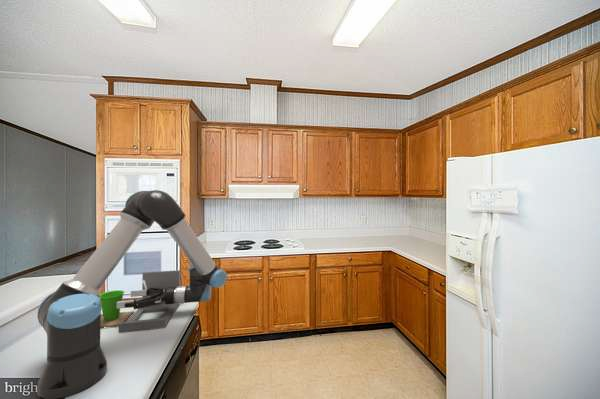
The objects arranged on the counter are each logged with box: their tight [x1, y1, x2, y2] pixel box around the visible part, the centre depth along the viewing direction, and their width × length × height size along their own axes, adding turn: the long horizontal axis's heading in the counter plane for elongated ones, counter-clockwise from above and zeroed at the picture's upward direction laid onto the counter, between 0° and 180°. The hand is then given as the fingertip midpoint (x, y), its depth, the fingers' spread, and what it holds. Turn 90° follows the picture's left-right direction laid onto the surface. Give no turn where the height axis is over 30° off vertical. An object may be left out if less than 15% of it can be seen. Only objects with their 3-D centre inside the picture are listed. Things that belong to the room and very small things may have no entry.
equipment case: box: [118, 269, 181, 333], centre depth 114 cm, size 17×25×18 cm
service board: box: [101, 311, 135, 329], centre depth 110 cm, size 13×13×1 cm
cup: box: [99, 289, 125, 321], centre depth 110 cm, size 9×9×11 cm
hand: (124, 299), depth 112 cm, fingers open, 13 cm apart
